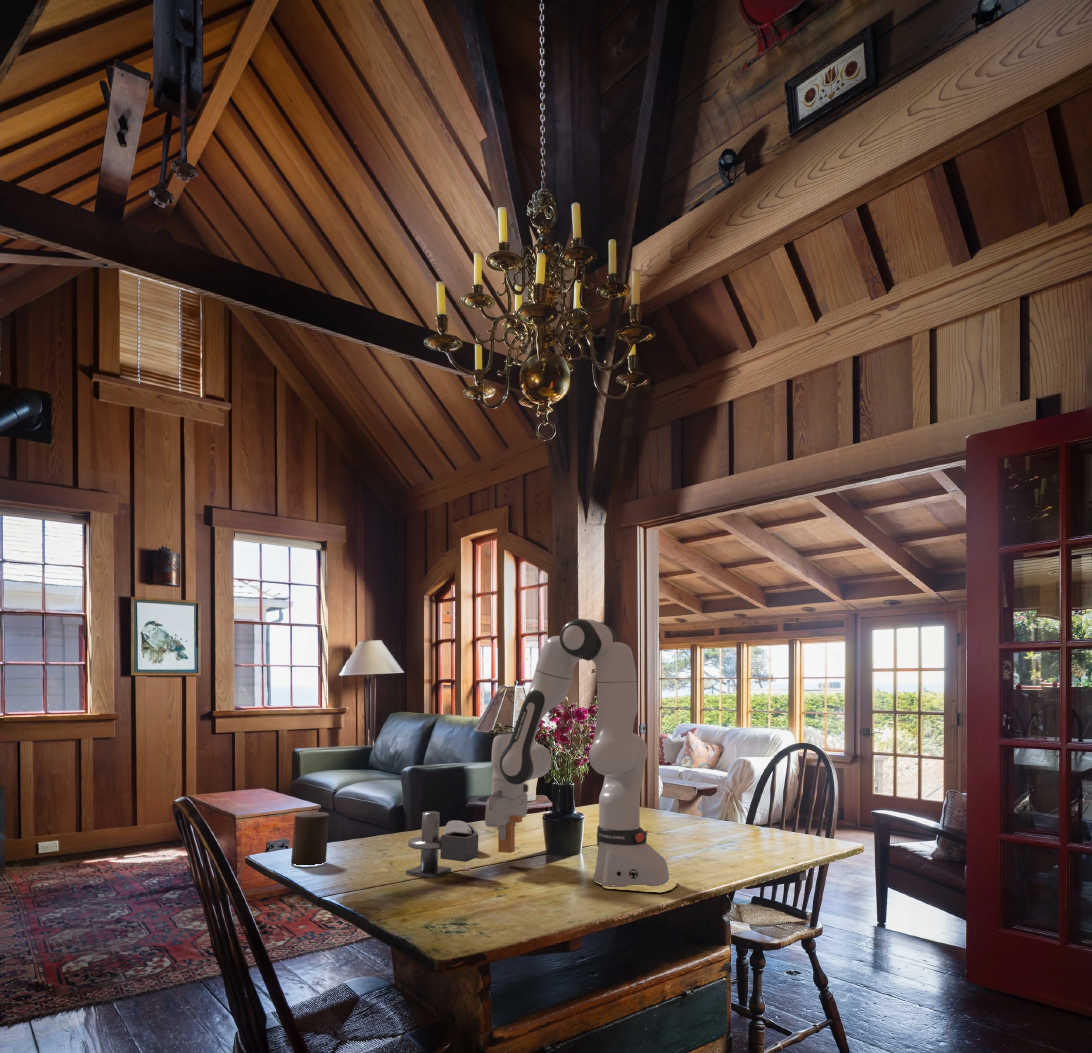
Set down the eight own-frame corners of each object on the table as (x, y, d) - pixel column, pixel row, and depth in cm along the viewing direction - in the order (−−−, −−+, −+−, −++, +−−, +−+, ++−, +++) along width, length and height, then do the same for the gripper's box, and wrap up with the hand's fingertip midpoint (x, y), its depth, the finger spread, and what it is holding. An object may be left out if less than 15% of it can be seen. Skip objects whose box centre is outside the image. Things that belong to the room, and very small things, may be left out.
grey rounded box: (434, 847, 264) (444, 815, 267) (446, 850, 266) (457, 819, 269) (457, 857, 250) (468, 824, 253) (470, 861, 252) (481, 828, 255)
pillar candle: (313, 869, 233) (317, 813, 236) (283, 865, 236) (287, 810, 239) (332, 862, 242) (336, 808, 245) (304, 859, 245) (307, 806, 248)
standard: (482, 874, 231) (483, 813, 233) (460, 884, 220) (462, 820, 223) (422, 866, 239) (424, 807, 241) (398, 875, 228) (400, 814, 231)
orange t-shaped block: (522, 852, 241) (522, 815, 243) (518, 853, 239) (518, 817, 240) (494, 849, 244) (494, 814, 246) (490, 851, 242) (490, 815, 244)
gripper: (499, 794, 234) (499, 845, 232) (531, 785, 252) (531, 833, 250) (479, 792, 237) (479, 844, 234) (512, 784, 255) (512, 831, 252)
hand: (506, 838), depth 242 cm, fingers closed on orange t-shaped block, 2 cm apart
